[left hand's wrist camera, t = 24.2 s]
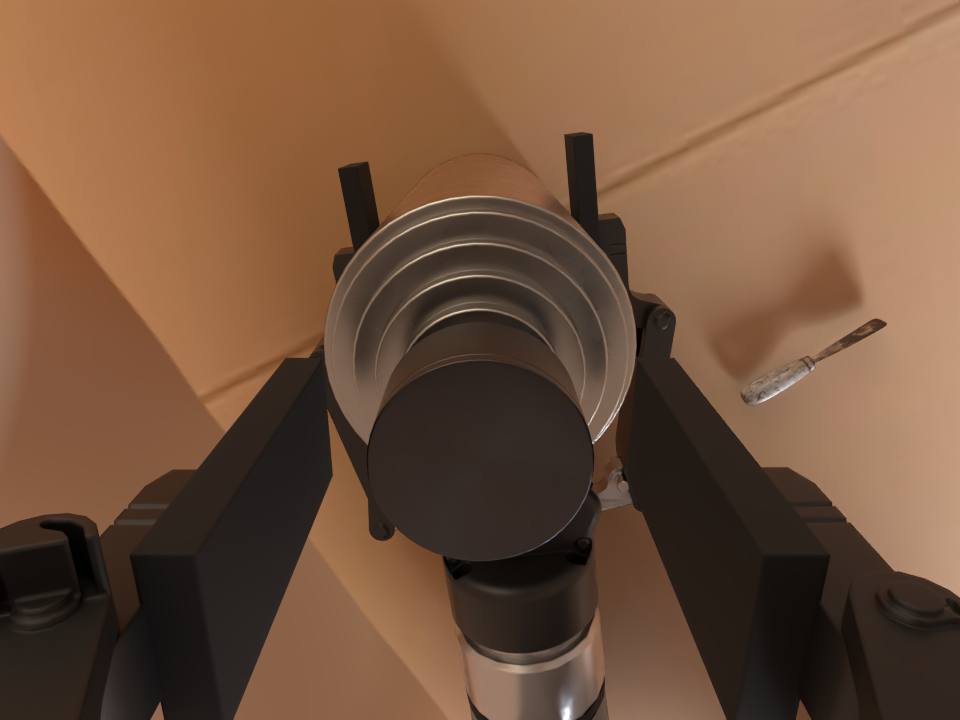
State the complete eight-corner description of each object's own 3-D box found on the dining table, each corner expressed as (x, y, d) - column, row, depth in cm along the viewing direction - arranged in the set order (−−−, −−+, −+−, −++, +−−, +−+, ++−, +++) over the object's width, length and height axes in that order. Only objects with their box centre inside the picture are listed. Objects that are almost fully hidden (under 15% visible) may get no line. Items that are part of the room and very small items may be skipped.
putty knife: (734, 388, 37) (745, 401, 36) (867, 306, 36) (885, 315, 34) (743, 402, 38) (755, 415, 36) (875, 320, 36) (894, 330, 34)
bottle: (548, 139, 33) (680, 189, 11) (571, 301, 36) (711, 590, 14) (382, 171, 34) (204, 276, 12) (418, 327, 36) (325, 647, 15)
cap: (616, 387, 14) (640, 435, 12) (507, 528, 15) (512, 595, 13) (448, 283, 13) (442, 315, 11) (347, 441, 15) (325, 496, 12)
